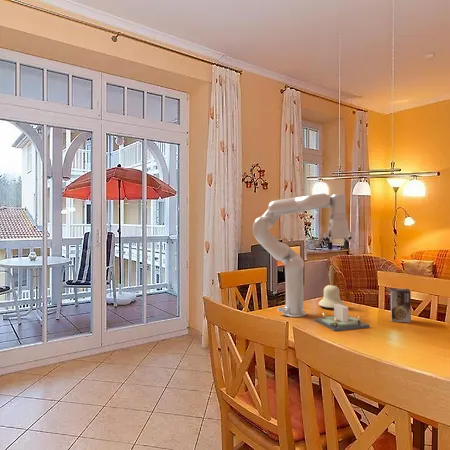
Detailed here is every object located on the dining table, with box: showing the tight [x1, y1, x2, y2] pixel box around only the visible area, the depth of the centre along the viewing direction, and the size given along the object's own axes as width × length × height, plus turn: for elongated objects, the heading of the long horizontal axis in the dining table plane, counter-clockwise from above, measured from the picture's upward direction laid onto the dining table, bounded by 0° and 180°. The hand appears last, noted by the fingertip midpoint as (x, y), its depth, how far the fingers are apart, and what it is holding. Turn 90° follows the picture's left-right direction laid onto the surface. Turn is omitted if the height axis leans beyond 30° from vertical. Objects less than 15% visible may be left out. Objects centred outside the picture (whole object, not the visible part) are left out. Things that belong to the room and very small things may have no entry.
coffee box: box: [390, 287, 412, 324], centre depth 196 cm, size 9×6×16 cm
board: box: [322, 304, 362, 326], centre depth 191 cm, size 17×14×8 cm
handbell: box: [318, 264, 346, 309], centre depth 225 cm, size 15×15×25 cm
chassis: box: [314, 312, 370, 332], centre depth 191 cm, size 19×19×5 cm
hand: (338, 249), depth 203 cm, fingers open, 9 cm apart
